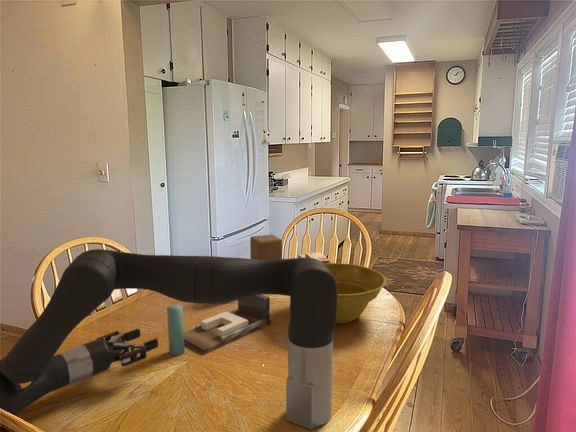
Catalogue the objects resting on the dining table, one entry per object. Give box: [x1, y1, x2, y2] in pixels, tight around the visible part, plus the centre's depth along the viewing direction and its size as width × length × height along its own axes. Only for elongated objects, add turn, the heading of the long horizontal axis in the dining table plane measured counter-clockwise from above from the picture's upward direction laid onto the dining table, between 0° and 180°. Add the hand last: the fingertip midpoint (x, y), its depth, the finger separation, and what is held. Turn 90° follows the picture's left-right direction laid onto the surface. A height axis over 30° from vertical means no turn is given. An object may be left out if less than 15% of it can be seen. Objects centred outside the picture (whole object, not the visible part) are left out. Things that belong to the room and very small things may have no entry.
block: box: [249, 234, 283, 260], centre depth 168 cm, size 10×10×20 cm
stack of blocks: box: [297, 251, 331, 263], centre depth 174 cm, size 21×6×12 cm, turn 16°
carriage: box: [200, 310, 248, 337], centre depth 129 cm, size 10×10×2 cm
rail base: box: [184, 294, 273, 355], centre depth 129 cm, size 26×13×9 cm, turn 138°
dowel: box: [166, 303, 185, 357], centre depth 116 cm, size 4×4×13 cm
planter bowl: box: [324, 262, 387, 324], centre depth 141 cm, size 32×32×13 cm
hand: (148, 337), depth 110 cm, fingers open, 8 cm apart
